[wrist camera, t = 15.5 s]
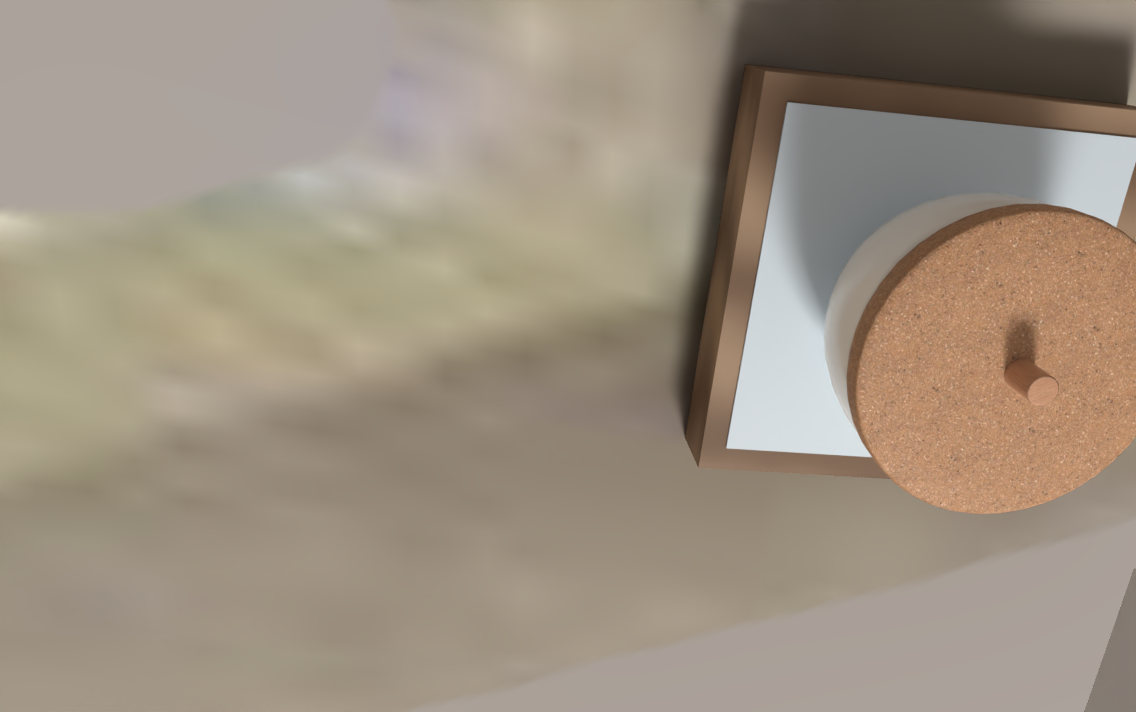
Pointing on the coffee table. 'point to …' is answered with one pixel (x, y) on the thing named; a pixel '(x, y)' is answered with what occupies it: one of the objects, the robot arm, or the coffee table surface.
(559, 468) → the coffee table surface
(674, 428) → the coffee table surface
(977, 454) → the lidded jar
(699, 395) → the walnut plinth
